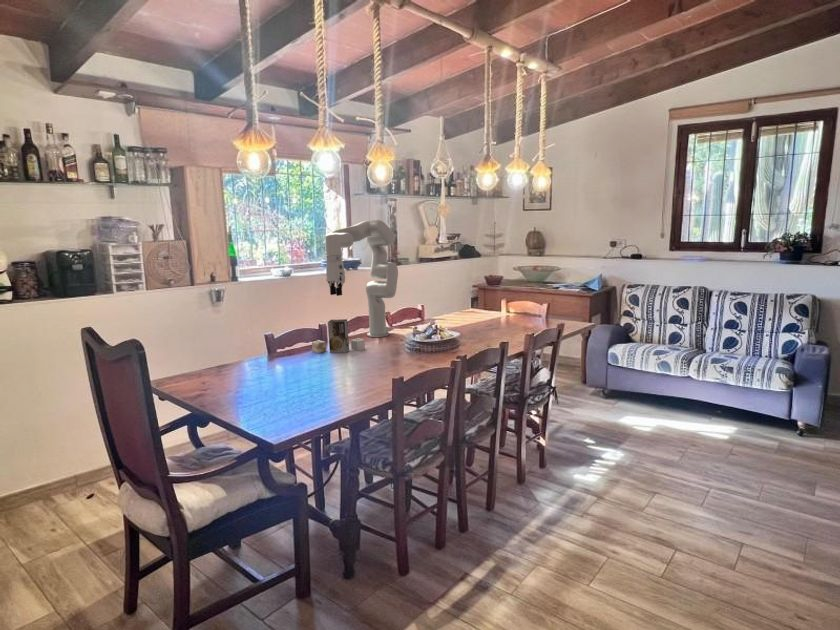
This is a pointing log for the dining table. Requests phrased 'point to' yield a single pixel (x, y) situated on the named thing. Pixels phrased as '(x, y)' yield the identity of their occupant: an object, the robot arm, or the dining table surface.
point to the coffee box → (338, 335)
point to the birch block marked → (318, 346)
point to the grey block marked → (357, 344)
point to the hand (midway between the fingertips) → (336, 294)
